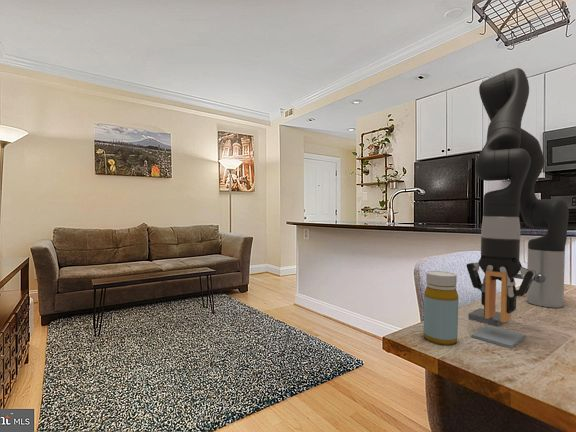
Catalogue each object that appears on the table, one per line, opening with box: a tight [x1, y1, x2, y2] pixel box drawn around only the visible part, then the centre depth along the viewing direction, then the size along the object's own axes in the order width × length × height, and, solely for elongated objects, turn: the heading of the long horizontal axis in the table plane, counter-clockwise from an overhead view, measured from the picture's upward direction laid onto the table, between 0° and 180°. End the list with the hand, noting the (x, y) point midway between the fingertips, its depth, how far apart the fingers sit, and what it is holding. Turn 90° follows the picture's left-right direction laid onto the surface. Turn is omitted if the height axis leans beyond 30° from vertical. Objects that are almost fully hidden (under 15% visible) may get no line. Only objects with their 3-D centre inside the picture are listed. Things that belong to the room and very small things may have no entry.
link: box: [485, 271, 512, 324], centre depth 75 cm, size 4×4×11 cm
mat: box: [470, 324, 526, 349], centre depth 75 cm, size 10×8×1 cm
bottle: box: [422, 270, 459, 346], centre depth 74 cm, size 7×7×15 cm
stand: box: [467, 271, 546, 327], centre depth 84 cm, size 8×16×14 cm, turn 40°
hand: (498, 309), depth 75 cm, fingers closed on link, 4 cm apart
